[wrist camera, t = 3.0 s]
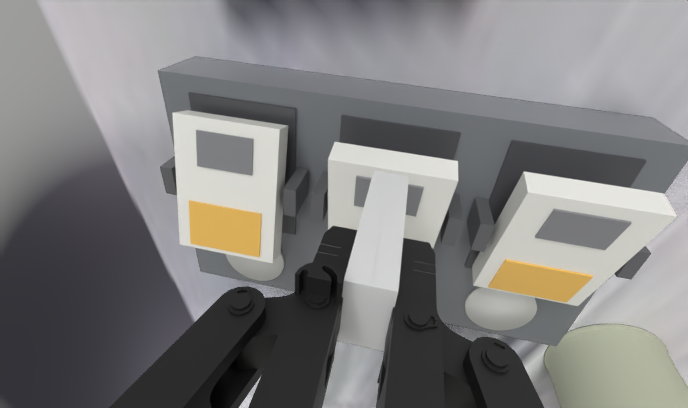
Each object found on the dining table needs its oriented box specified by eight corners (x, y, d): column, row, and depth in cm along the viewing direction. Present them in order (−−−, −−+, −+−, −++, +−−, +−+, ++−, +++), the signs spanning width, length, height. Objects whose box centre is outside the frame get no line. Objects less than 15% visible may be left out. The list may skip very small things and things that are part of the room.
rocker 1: (187, 110, 20) (170, 112, 19) (288, 125, 19) (278, 129, 18) (192, 234, 23) (178, 245, 22) (280, 252, 22) (271, 264, 21)
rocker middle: (334, 141, 17) (327, 161, 16) (458, 161, 17) (458, 182, 16) (333, 239, 23) (327, 258, 22) (424, 257, 23) (422, 277, 22)
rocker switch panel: (195, 56, 23) (122, 83, 18) (653, 117, 20) (740, 174, 14) (223, 240, 32) (180, 297, 27) (541, 304, 29) (568, 383, 23)
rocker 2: (523, 171, 16) (528, 194, 15) (664, 193, 16) (678, 218, 15) (472, 266, 22) (473, 287, 21) (572, 285, 21) (578, 308, 20)
